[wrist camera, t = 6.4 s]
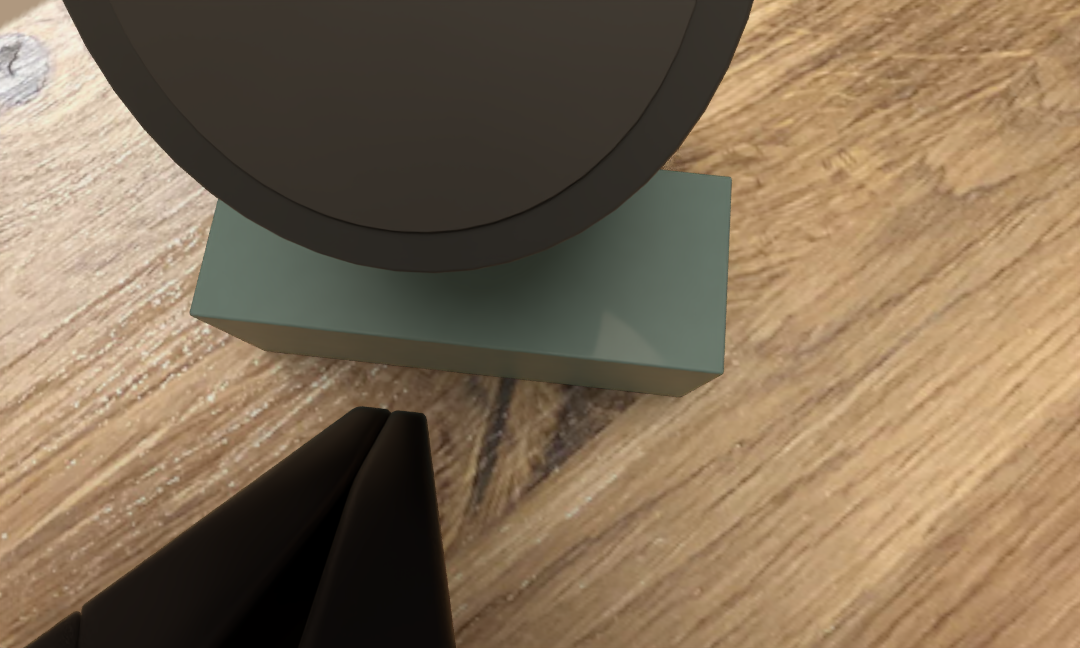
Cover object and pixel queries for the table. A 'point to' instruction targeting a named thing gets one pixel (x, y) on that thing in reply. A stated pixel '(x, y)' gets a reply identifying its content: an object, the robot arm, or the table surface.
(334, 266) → the prop block
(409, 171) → the bin
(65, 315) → the table surface
